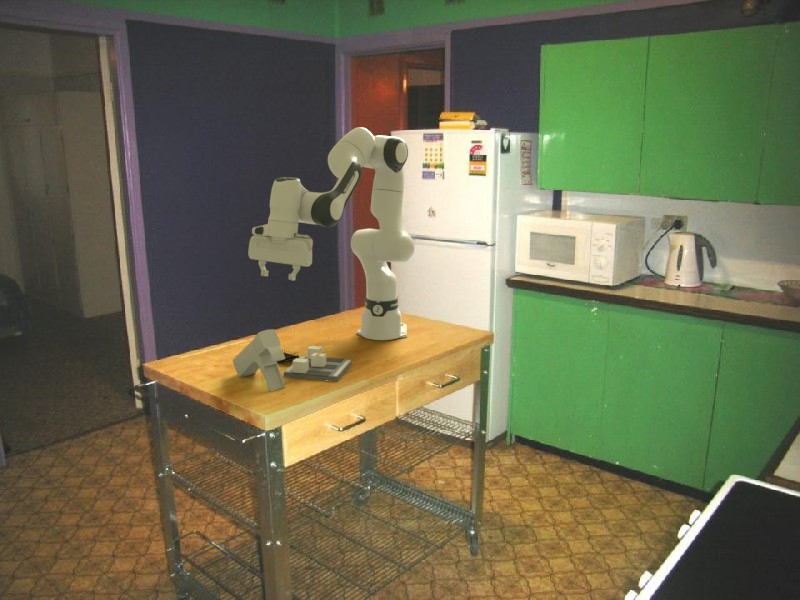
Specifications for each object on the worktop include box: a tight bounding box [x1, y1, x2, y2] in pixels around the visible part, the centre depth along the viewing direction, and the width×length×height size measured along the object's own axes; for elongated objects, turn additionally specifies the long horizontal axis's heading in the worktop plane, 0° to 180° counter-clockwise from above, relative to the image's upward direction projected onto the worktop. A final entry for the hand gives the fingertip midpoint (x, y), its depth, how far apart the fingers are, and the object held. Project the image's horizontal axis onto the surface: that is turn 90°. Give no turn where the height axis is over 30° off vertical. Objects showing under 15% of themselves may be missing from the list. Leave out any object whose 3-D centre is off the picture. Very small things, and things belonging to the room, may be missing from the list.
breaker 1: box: [292, 357, 309, 373], centre depth 202 cm, size 3×4×4 cm
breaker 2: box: [306, 345, 323, 359], centre depth 214 cm, size 3×4×4 cm
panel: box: [283, 355, 353, 382], centre depth 208 cm, size 17×17×2 cm
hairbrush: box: [277, 349, 300, 364], centre depth 222 cm, size 8×4×25 cm
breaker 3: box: [311, 352, 327, 367], centre depth 207 cm, size 3×4×4 cm
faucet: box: [232, 328, 286, 392], centre depth 196 cm, size 6×16×20 cm
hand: (277, 278), depth 198 cm, fingers open, 8 cm apart
